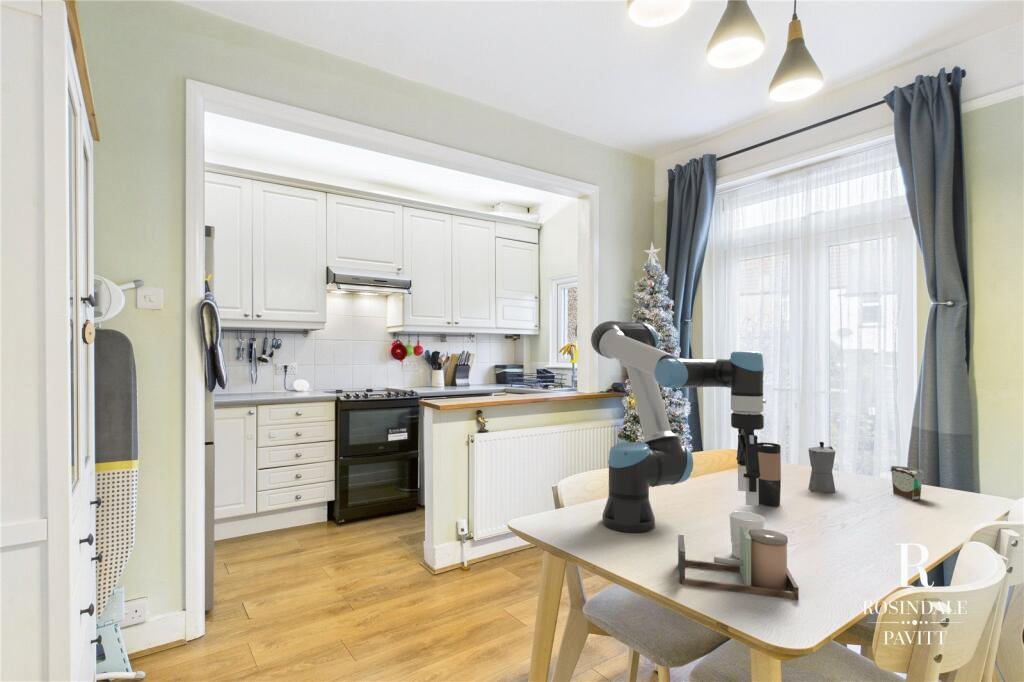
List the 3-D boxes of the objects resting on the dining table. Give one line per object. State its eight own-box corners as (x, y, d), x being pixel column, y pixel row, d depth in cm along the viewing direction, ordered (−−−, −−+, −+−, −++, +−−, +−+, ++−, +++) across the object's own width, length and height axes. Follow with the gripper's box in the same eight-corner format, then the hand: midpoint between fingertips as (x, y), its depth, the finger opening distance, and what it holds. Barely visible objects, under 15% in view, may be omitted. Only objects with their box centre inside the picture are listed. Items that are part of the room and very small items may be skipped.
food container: (933, 502, 178) (933, 473, 178) (915, 502, 178) (915, 473, 178) (907, 493, 190) (907, 465, 191) (890, 492, 191) (890, 465, 191)
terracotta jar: (751, 590, 111) (751, 539, 111) (745, 574, 118) (745, 527, 118) (791, 595, 108) (791, 543, 109) (783, 579, 116) (783, 531, 116)
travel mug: (781, 502, 176) (781, 443, 177) (779, 508, 170) (779, 447, 170) (757, 498, 180) (757, 441, 181) (754, 504, 174) (754, 444, 174)
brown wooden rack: (679, 584, 113) (679, 551, 113) (678, 563, 124) (678, 534, 124) (798, 599, 106) (798, 565, 106) (785, 576, 117) (785, 545, 118)
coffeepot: (827, 495, 186) (827, 445, 186) (800, 489, 193) (800, 441, 194) (846, 489, 195) (845, 441, 195) (819, 483, 202) (819, 438, 203)
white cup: (768, 563, 124) (768, 522, 125) (733, 560, 126) (733, 519, 126) (759, 551, 132) (759, 512, 132) (726, 548, 134) (726, 510, 134)
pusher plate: (715, 584, 112) (716, 534, 112) (712, 568, 121) (712, 522, 121) (751, 589, 110) (751, 538, 110) (744, 572, 119) (744, 525, 119)
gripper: (773, 418, 117) (774, 513, 116) (755, 408, 141) (755, 486, 140) (737, 417, 119) (738, 510, 118) (725, 407, 143) (726, 484, 142)
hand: (747, 497), depth 129 cm, fingers open, 13 cm apart
